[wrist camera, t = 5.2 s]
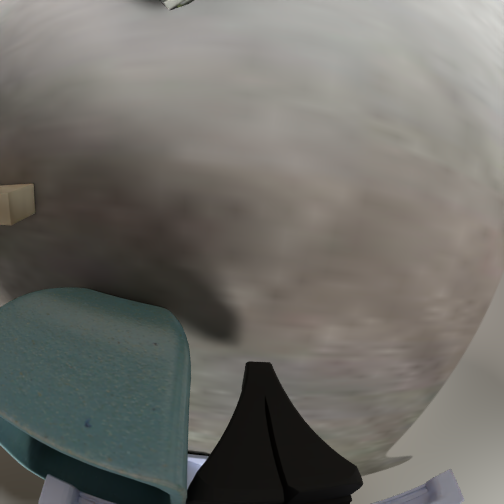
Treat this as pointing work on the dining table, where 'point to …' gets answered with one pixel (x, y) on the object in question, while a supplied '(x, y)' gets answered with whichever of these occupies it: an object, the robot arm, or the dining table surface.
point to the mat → (175, 3)
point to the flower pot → (96, 394)
